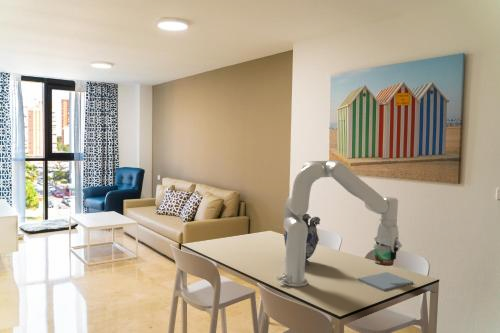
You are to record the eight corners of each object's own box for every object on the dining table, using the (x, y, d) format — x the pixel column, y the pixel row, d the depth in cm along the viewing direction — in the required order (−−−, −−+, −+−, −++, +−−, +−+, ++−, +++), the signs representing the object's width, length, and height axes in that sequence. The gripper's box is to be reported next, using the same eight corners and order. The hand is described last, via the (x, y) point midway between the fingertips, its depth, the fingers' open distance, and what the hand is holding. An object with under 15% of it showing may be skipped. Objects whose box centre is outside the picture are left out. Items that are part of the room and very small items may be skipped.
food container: (379, 267, 196) (380, 247, 195) (372, 263, 202) (373, 243, 201) (401, 265, 199) (402, 246, 199) (393, 262, 205) (394, 242, 205)
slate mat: (383, 291, 189) (383, 288, 189) (357, 280, 202) (357, 278, 202) (413, 283, 200) (413, 281, 200) (386, 273, 214) (387, 272, 214)
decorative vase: (275, 263, 225) (278, 213, 224) (288, 255, 242) (291, 209, 240) (312, 270, 215) (315, 218, 214) (322, 262, 232) (325, 214, 230)
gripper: (370, 219, 205) (368, 253, 206) (398, 226, 190) (396, 263, 191) (379, 218, 209) (378, 252, 210) (408, 224, 194) (406, 261, 195)
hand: (386, 257), depth 201 cm, fingers closed on food container, 6 cm apart
